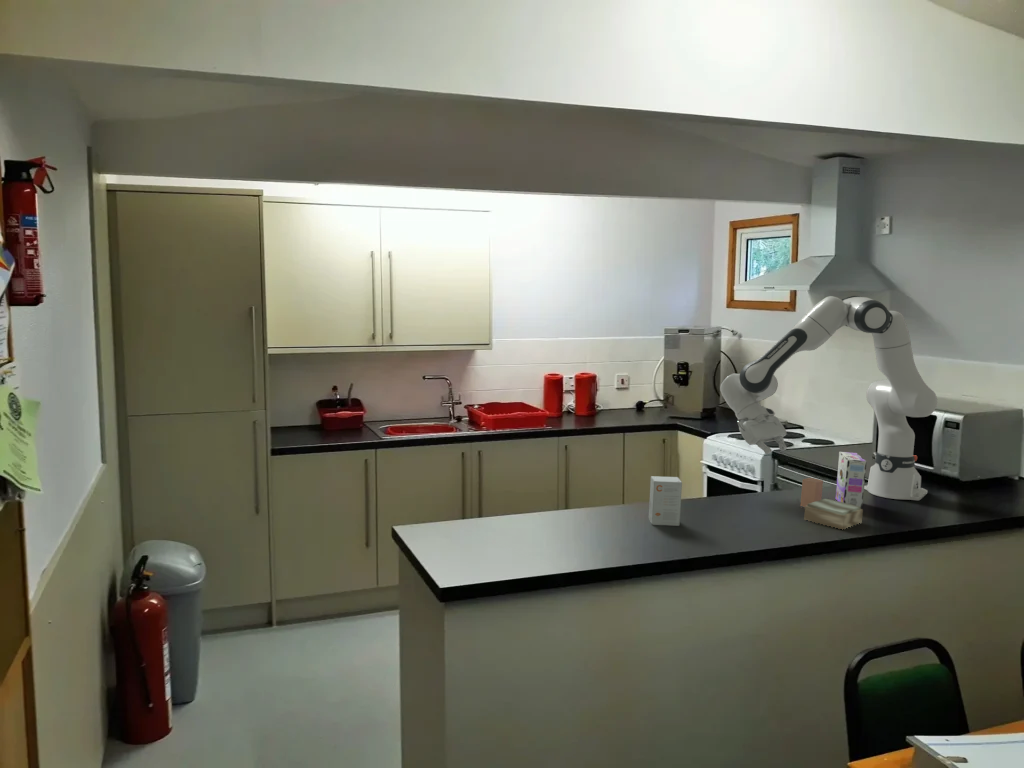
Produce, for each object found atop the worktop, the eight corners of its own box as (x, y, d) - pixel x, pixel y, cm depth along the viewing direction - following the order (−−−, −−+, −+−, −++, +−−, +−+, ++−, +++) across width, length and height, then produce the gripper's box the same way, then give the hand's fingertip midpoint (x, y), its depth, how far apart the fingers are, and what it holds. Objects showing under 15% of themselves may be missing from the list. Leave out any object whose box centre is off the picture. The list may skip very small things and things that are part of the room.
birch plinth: (823, 513, 250) (825, 497, 250) (861, 523, 241) (863, 506, 241) (803, 519, 242) (805, 503, 242) (842, 530, 234) (844, 513, 233)
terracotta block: (807, 504, 260) (809, 477, 259) (820, 508, 257) (823, 480, 255) (800, 507, 257) (802, 479, 256) (813, 510, 254) (816, 482, 252)
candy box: (862, 512, 254) (867, 461, 252) (842, 510, 255) (847, 459, 253) (853, 500, 267) (857, 452, 265) (834, 499, 268) (838, 450, 266)
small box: (675, 519, 237) (678, 476, 236) (679, 526, 231) (682, 482, 230) (647, 518, 238) (650, 475, 236) (651, 525, 231) (654, 480, 230)
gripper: (742, 414, 262) (766, 449, 256) (775, 409, 275) (799, 442, 269) (729, 425, 265) (752, 460, 259) (762, 420, 279) (786, 453, 273)
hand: (776, 451), depth 264 cm, fingers open, 8 cm apart
